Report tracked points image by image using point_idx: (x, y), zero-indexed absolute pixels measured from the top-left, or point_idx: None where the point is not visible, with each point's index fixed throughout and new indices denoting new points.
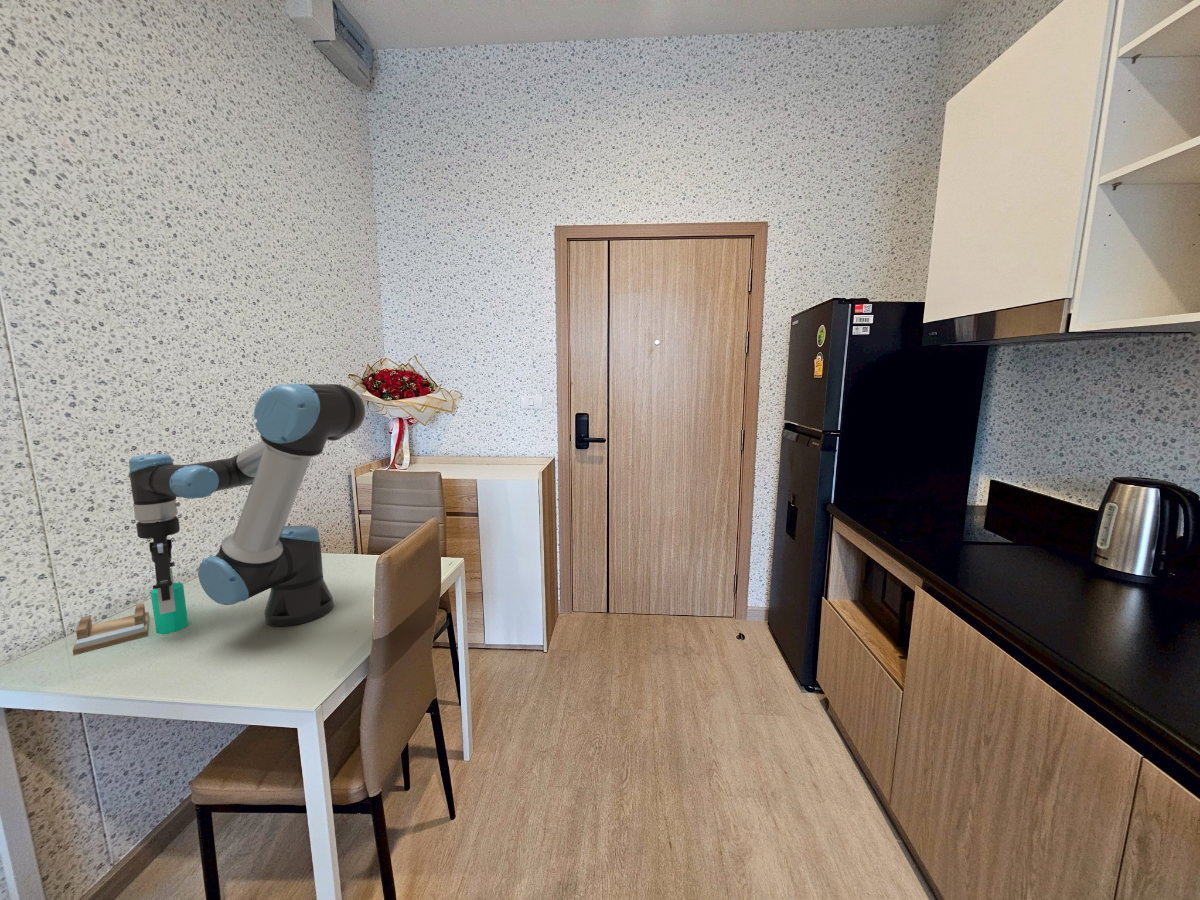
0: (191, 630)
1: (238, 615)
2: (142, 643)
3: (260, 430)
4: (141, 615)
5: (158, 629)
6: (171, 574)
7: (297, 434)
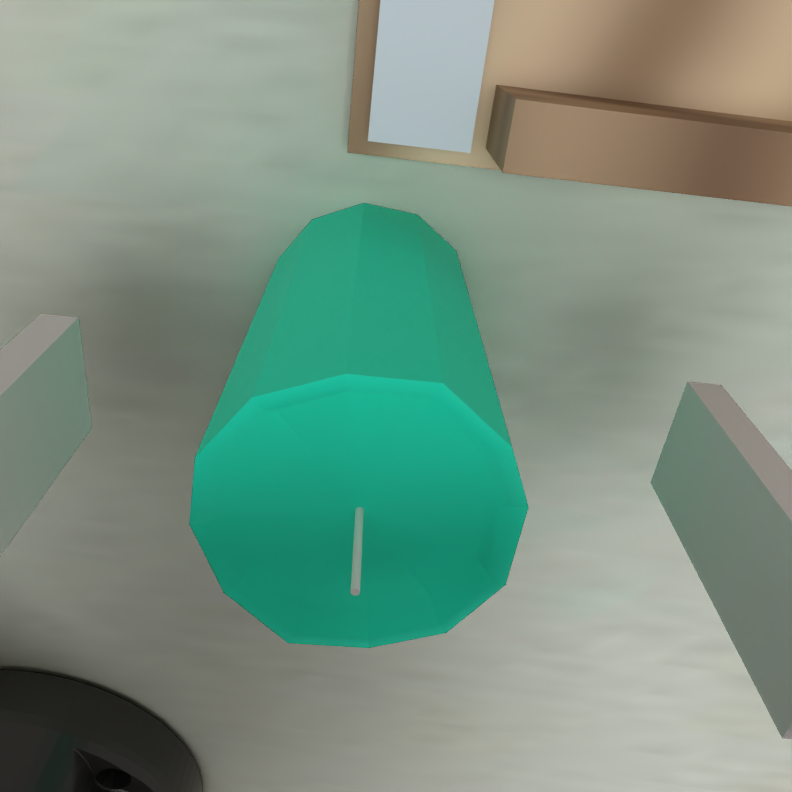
0: (208, 385)
1: None
2: (204, 96)
3: None
4: (504, 161)
5: (318, 227)
6: (744, 646)
7: None
